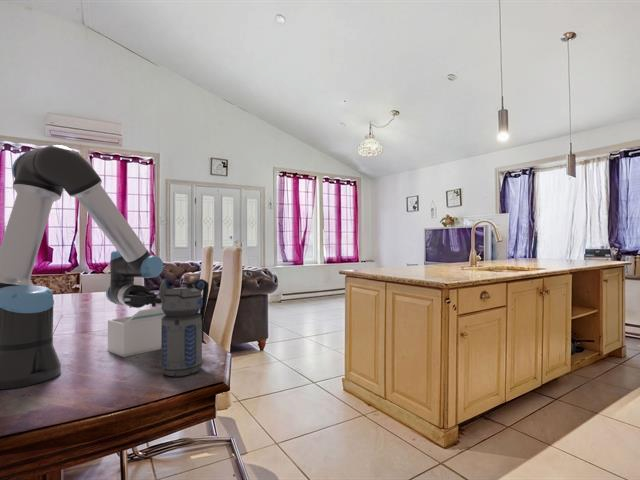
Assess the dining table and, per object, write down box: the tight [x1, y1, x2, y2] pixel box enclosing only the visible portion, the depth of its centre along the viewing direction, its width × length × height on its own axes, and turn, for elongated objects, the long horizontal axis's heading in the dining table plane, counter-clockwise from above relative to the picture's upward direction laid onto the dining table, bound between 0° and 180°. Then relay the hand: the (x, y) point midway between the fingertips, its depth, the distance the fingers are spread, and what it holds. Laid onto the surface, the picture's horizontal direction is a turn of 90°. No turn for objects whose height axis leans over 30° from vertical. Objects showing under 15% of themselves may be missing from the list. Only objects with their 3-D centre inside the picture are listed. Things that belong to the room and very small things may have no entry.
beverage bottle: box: [158, 278, 209, 377], centre depth 97 cm, size 10×13×25 cm
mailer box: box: [107, 316, 161, 358], centre depth 120 cm, size 12×16×10 cm
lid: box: [125, 306, 165, 324], centre depth 112 cm, size 11×17×1 cm
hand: (169, 301), depth 108 cm, fingers closed
